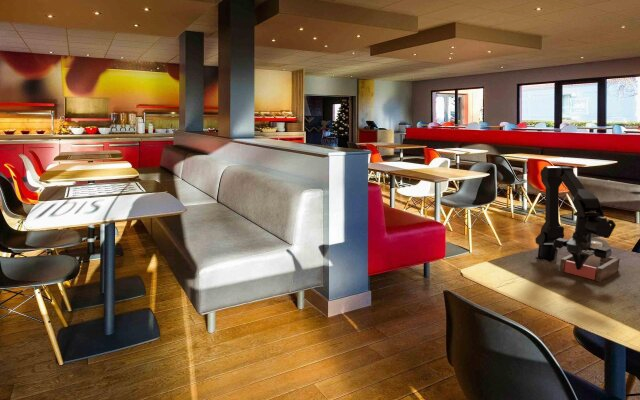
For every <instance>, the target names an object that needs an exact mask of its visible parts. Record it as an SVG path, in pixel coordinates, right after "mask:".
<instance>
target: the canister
mask: <svg viewBox="0 0 640 400" xmlns="http://www.w3.org/2000/svg"><path fill="white" fill-rule="evenodd" d="M591 243H592V246H590V247H592V248H598V247H602V243H601V242H598V241H591ZM600 260H601V258H599V257H596V256H595V255H591V256H589V257H588V258H587V260H586V261H585V265H588V266H592V267H596V268H598V267H600Z"/></svg>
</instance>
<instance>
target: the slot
mask: <svg viewBox="0 0 640 400" xmlns="http://www.w3.org/2000/svg"><path fill="white" fill-rule="evenodd" d="M582 251H583V250H582ZM582 253H583V252H582ZM567 260H568V261H572V262H575V261H574V258H573V255H572V254H571V253H570V254H568V255H566V256H564V257H562V258H561V259H560V265H559V272H563V273H565V272H564V270H565V262H566V261H567ZM620 260H621V259H620V258H618V257H613V256H610V257H608V258H606V259H604V258H601V260H600V262H603V263H605V264H603V265H602V266H600V267H598V268H597V275H596V279H595V281H597V282H602V281H604V280H605V279H607V278H608V277H610V276H612V275H613V274H615V273H617V272H618V271H619V269H620V268H619V266H620Z"/></svg>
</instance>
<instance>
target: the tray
mask: <svg viewBox="0 0 640 400" xmlns="http://www.w3.org/2000/svg"><path fill="white" fill-rule="evenodd" d="M603 264H605V263H603V262H600V266H602V265H603ZM563 273H567V274H570V275H574V276H579V277H582V278H586V279H589V280H590V279H591V280H593V281H596V275H597V268H596V267H592V266H588V265H585V262H584V264H583V266H582V267H581V269H580V270H577V268H576V265H575V262H572V261H568V260H567V261H566V262H565V270H564V272H563Z"/></svg>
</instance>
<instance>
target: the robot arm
mask: <svg viewBox="0 0 640 400" xmlns="http://www.w3.org/2000/svg"><path fill="white" fill-rule="evenodd" d="M539 173H540V179H541V183H542V184H543V186H544V188H545V206H544V207H545V208H544V209H545V210H544V211H545V213H544V214H545V215H544V216H545V222H544V223H543V224H542V226H541V227H540V232H539V234H538V235H537V236H536V237H535V244H537V245H538V251H537V256H535V258H536V259H539V260H542V261H543V260H544V261H547V262H554V261H555V260H557V259H558V253H559V249H562V248H564V247H566V250H567V252H568V253H570V254H572V255H573V258H574V261H575V265H576V268H577V270H580V269H581V267H582V266H583V264H584V262H585V261H586V260H587V258H588V257H589V256H591V255H595V256H596V257H599V258H604V259H606V258H608V257H612V254H613V253H612V248H611V249H609V248H605V247H598V248H592V247H590V246H592V243H591V239H592V236H593V234H595V235H597V236H600V238H604V237H605V236H607V235H609V233H610V232H611V224H609V223H608V222H607V220H608V218H607V217H605V214H604V213H605V212H604V210H603V208H602V206H601V203H600V199H598V197H597V196H596V195H595V194H594V193H592V192H590V191H588V190H587V189H586V188H585V187H584V185H583V183H582V182H581V181H580V180H579V178H578V177H577V175H576V174H575V173H574V169H573V167H570V166H560V165H559V166H558V165H557V166H552V165H551V166H547V165H546V166H544V167H543V168H542V169H541V170H540V172H539ZM562 183H563V184H564V185H565V187H566V189H567V190H568V191H569V192H570V195H571V196H572V198H573V199H572V205H573V207H574V208H575V210H576V211H575V212H573V216H576V219H575V228H574V231H573V233H572V236H571V238H569V239H567V238H564V237H565V233H564V232H565V227H564V226H562V225H561V224H560V222H559V217H560V216H559V215H560V213H559V207H560V206H559V203H560V201H559V200H560V199H559V198H560V197H559V195H560V193H559V192H560V190H559V188H560V186H561V185H562ZM582 250H583V251H582ZM582 252H583V253H582Z"/></svg>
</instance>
